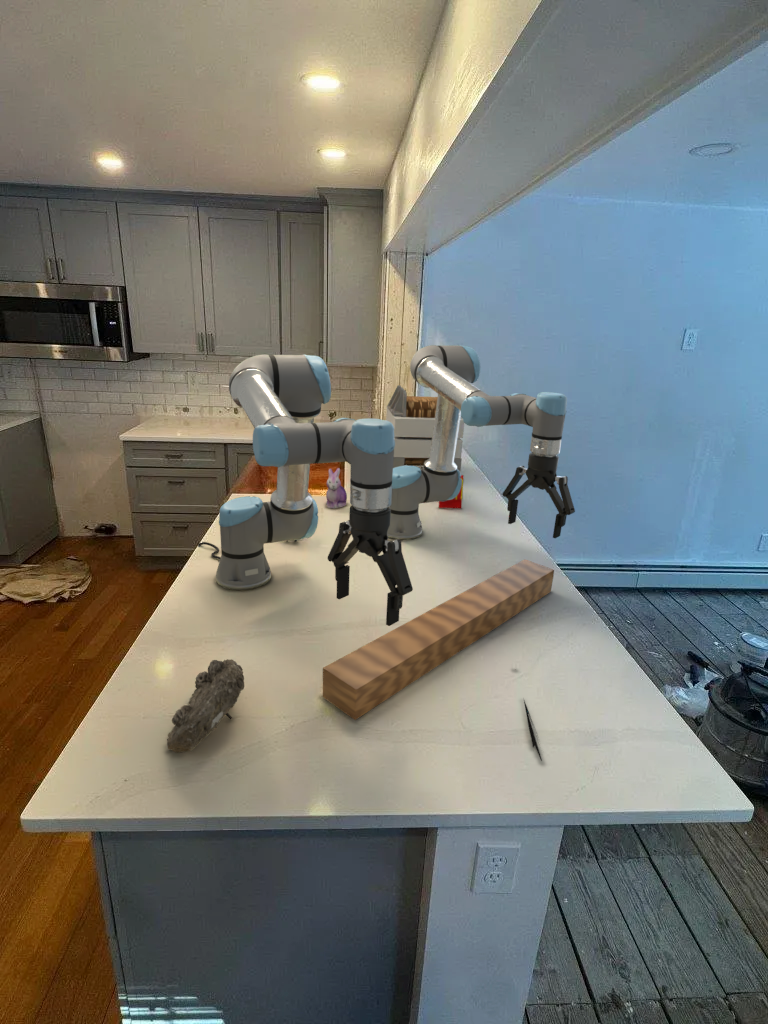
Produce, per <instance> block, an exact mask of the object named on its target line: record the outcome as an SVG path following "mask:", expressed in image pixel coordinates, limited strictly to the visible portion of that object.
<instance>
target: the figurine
mask: <svg viewBox="0 0 768 1024" xmlns="http://www.w3.org/2000/svg"><path fill="white" fill-rule="evenodd" d="M340 473H341V469H340V467H337V468H336V470H335V471H333V469H332V468H329V469H328V479H327V480H326V487H327V490H326V493H325V497H326V503H325V505H326V508H329V509H339V508H344V507H345V506H346V505H347V499H348V495H347V491H346V489H345V488H344V487H343V486H342V482H341V480H340V478H339V476H340Z"/></svg>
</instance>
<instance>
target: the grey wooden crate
mask: <svg viewBox="0 0 768 1024" xmlns="http://www.w3.org/2000/svg"><path fill="white" fill-rule="evenodd" d="M407 394H408V393H407V390H406V389H404V388H403V387H402V385H399V384H398V385H397V386H396V388H395V390H394V392H393V394H392V395H391V398H390V400H389V402H388V404H387V405H386V413H385V414H386V415H385V420H387V421H389V422H391V423H392V424H393V426H394V440H395V448H394V460H393V468H395V467H399V466H406V465H407V466H417V467H424V463H425V461H426V460H428V459H429V457H430V449H431V442H432V435H433V427H434V420H435V413H436V405H437V398H438V396H415V395H414V396H413V395H412V396H411V395H407ZM464 429H465V423H464V422H463V419H462V417H461V419H460V425H459V431H458V438H457V444H456V450H455V457H454V463H455V464H456V465H457V469H458V470H459V472H460V474H461V475H462V473H461V472H462V461H463V460H462V453H463V442H464V441H463V440H462V439H463V438H464V431H465V430H464Z"/></svg>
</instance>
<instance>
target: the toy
mask: <svg viewBox="0 0 768 1024" xmlns="http://www.w3.org/2000/svg"><path fill="white" fill-rule="evenodd" d="M461 479H462V485H461V489H460V492H459V494H458V495H457V496H456V497H455V498H453V499H451V500H446V501H443V502H442V501H438V509H459V510H460V509H462V507H463V493H464V492H463V491H464V480H465V479H464V475H462V474H461Z"/></svg>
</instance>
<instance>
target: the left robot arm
mask: <svg viewBox="0 0 768 1024" xmlns="http://www.w3.org/2000/svg"><path fill="white" fill-rule="evenodd" d="M228 391H229V394H230V395H229V396H230V397H231V398H232V400H233V402H234V403H235V405H236V406H238V407H239V408H240V409H242V410H243V411H244V413H245V415H246V416H247V418H248V419H249V421H250V423H251V425H252V427H253V428H254V429H253V432H252V450H253V454H254V459H255V462H256V463H257V465H259V466H261V467H275V468H277V472H276V473H277V474H276V489H275V490H273V492H272V493H271V494H270V501H263V500H262V499H261V498H260V497H259V496H250V495H249V496H248V495H247V496H240V497H235V498H233V499H230V500H228V501H226V502H224V503H223V504H222V505H221V506H220V508H219V512H218V514H219V515H218V519H219V520H218V526H219V534H220V535H219V536H220V548H219V547H218V546H217V545H215V544H214V543H211V542H207V541H201V542H202V543H201V542H199V543H197V547H200V546H202V545H206V546H210V547H212V548H213V549H215V551H213V552H211V554H210V556H211V557H212V558H213V559H217V560H219V562H218V565H217V568H216V573H215V580H216V583H217V584H218V586H220V587H222V588H224V589H226V590H232V591H249V590H253V589H257V588H260V587H263V586H265V585H266V584H268V583H269V582H270V581H271V578H272V571H271V566H270V564H269V562H268V560H267V556H266V554H265V551H264V550H265V549H264V548H265V547H264V544H273V543H280V542H286V541H288V542H290V541H295V540H297V541H300V540H301V541H302V540H304V539H309V538H311V537H312V536H314V535H315V533H316V531H317V528H318V524H319V507H318V504H317V501H316V500H315V499H314V498H313V496H312V494H311V493H310V492H309V482H310V473H311V471H310V469H311V464H313V465H314V464H328V463H329V464H331V463H347V464H349V465H350V479H349V482H350V484H349V486H350V487H349V503H350V506H349V514H348V516H349V517H348V518H349V519H348V520H345V521H343V522H340V523H339V525H338V533H337V535H336V538H335V539H334V542H333V544H332V546H331V548H330V551H329V553H328V555H327V561H328V562H330V563H331V562H332V563H333V566H334V567H335V569H334V573H335V574H334V578H335V582H336V599H337V600H341V599H343V598H346V597H348V596H350V571H351V570H350V569H351V568H350V567H351V566H350V565H348V564H349V561H350V560H351V559H352V558H353V557H354V556H355V555H356V554H357V553H358V552H359V553H361V554H365V555H366V556H367V557H370V558H372V561H373V562H374V563H376V564H377V566H378V568H379V570H380V572H381V574H382V576H383V579H384V581H385V583H386V585H387V587H388V589H389V592H388V593H387V595H386V596H387V599H386V618H385V625H386V626H388V627H390V626H392V625H394V624H396V623H398V622H399V621H400V609H402V607H403V600H404V596H405V595H407V594H409V593H411V592H413V590H414V587H413V586H412V581H411V578H410V575H409V571H408V568H407V566H406V561H405V557H404V555H403V547H402V540H400V539H396V540H395V539H390V538H388V535H387V531H388V528H389V526H390V519H391V509H390V507H389V506H391V501H392V475H393V460H394V448H395V440H394V426H393V424H392V423H391V422H389V421H387V420H386V419H381V418H374V417H373V418H371V417H369V418H368V417H367V418H359V419H354V418H349V417H339V418H336V419H335V420H333V421H327V422H326V421H325V422H315V421H314V420H315V418H316V417H317V416H319V415H320V414H321V411H322V405H326V404H328V403H329V402H330V400H331V397H332V384H331V377H330V372H329V370H328V367H327V364H326V362H325V361H324V359H323V358H322V357H320V356H318V355H309V354H306V353H303V354H256V355H253V356H250V357H248V358H245V359H244V360H242V361H241V362H240V363H239V364H238V365H236V366H235V368H234V369H233V371H232V372H231V374H230V376H229V379H228ZM351 537H352V540H351V541H350V543H349V540H350V538H351ZM346 546H347V547H346ZM219 552H220V553H221V554H220V555H221V556H219V555H216V554H218V553H219ZM381 553H382V554H381Z"/></svg>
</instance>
